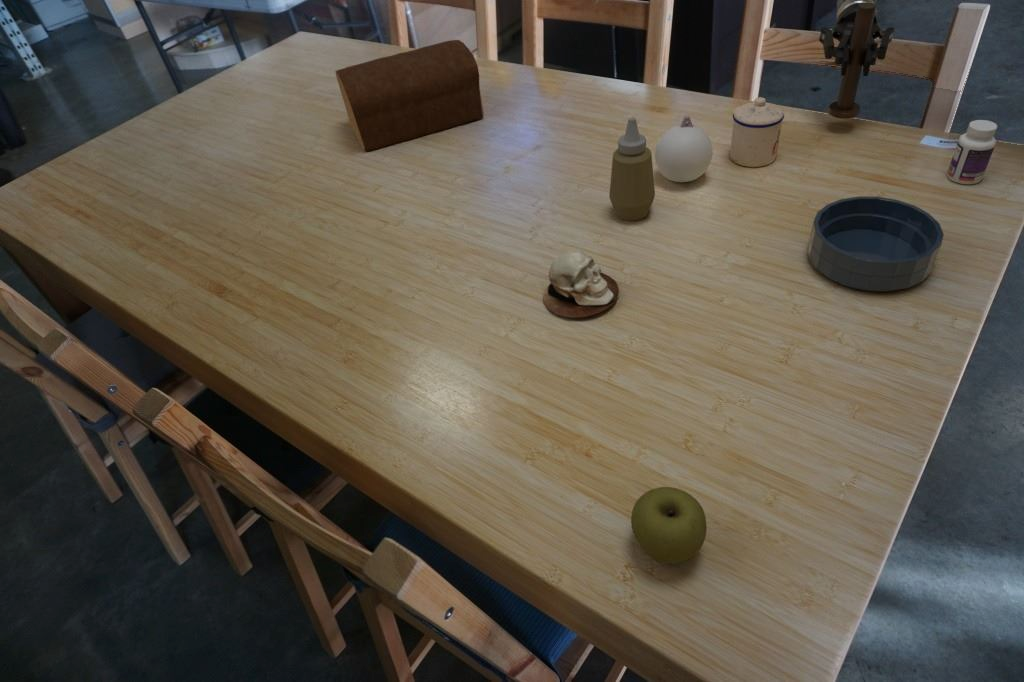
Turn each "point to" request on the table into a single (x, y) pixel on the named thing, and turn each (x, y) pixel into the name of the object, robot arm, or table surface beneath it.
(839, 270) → the bowl
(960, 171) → the pill bottle
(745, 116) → the teacup with lid
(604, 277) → the skull
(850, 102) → the stirrer
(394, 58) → the bread
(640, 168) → the squeeze bottle
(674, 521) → the apple
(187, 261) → the table surface
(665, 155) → the ornament
